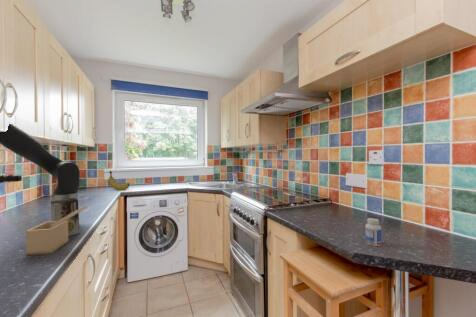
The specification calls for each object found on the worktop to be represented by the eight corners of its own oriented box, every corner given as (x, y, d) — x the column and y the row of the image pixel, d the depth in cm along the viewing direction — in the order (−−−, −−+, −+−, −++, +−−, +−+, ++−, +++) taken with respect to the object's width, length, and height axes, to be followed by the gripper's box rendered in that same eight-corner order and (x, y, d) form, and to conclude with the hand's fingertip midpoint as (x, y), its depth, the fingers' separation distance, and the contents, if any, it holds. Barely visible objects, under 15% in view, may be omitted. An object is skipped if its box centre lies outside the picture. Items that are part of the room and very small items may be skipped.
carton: (46, 243, 91) (46, 221, 91) (68, 241, 92) (67, 220, 92) (26, 255, 80) (25, 231, 80) (51, 253, 81) (50, 229, 81)
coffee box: (75, 230, 106) (74, 197, 105) (79, 233, 102) (78, 199, 101) (51, 236, 99) (50, 200, 98) (54, 239, 95) (53, 202, 94)
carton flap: (66, 217, 91) (86, 205, 93) (67, 219, 92) (87, 207, 93) (50, 225, 82) (73, 211, 83) (51, 227, 82) (74, 213, 83)
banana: (131, 189, 227) (130, 170, 227) (127, 190, 222) (127, 171, 221) (111, 189, 230) (110, 170, 230) (107, 190, 224) (106, 171, 224)
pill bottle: (378, 241, 89) (378, 217, 89) (383, 247, 84) (384, 222, 83) (363, 240, 90) (363, 217, 90) (368, 245, 85) (368, 221, 85)
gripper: (-56, 171, 74) (4, 169, 77) (-18, 168, 87) (32, 167, 90) (-54, 193, 74) (5, 190, 77) (-17, 187, 87) (33, 185, 90)
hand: (20, 178), depth 84 cm, fingers closed
